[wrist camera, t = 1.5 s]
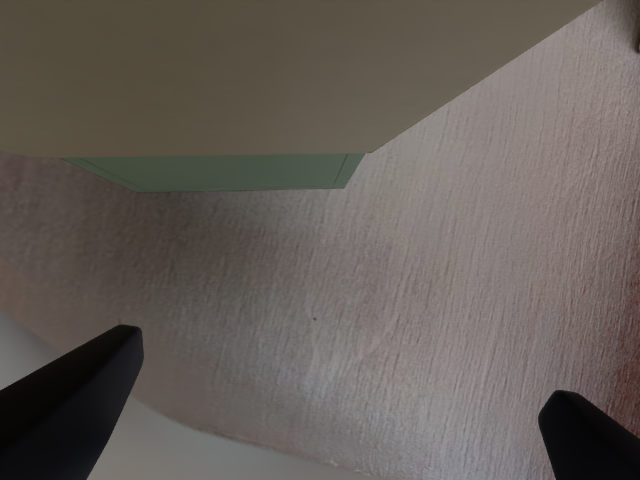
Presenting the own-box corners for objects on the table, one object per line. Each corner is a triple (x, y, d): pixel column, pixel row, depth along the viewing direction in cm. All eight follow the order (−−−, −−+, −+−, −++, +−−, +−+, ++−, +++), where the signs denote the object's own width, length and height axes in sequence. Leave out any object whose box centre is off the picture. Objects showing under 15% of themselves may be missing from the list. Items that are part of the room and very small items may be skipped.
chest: (136, 24, 22) (48, -108, 14) (337, 26, 23) (358, -97, 15) (136, 193, 21) (43, 150, 13) (344, 188, 22) (370, 146, 14)
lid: (-1783, -330, 2) (-1683, -140, 2) (725, -192, 2) (714, -67, 3) (33, 136, 13) (35, 158, 13) (372, 132, 14) (372, 153, 14)
